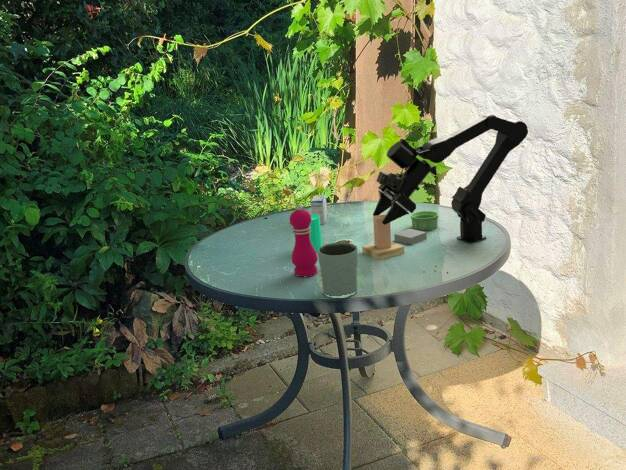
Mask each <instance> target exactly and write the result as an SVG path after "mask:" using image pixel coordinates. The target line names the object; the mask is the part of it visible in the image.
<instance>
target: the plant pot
mask: <svg viewBox="0 0 626 470" xmlns="http://www.w3.org/2000/svg"><path fill="white" fill-rule="evenodd" d="M317 258H318V263H319V268H320V276H321V282H322V291H323V295H324V294H326V295H329V296H342V295H347V294H351V293H354V292H356V291H357V292H358V289H357V288H358V279H357V275H358V271H357V270H358V269H357V268H358V246H357V245H355V244H353V243H351V242H350V243H349V242H330V243H327V244H324V245H323V244H322V246H321V247H320V248H318V252H317ZM357 292H356V293H357Z"/></svg>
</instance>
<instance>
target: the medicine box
mask: <svg viewBox="0 0 626 470" xmlns="http://www.w3.org/2000/svg"><path fill="white" fill-rule="evenodd" d="M310 209H311V211H310V212H311V215H313V214H316V215H319V216H320V225H325V224H326V221H327V219H328V207H327V196H326V195H324V194H322V195H321V194H319V195H313V197H312V199H311V200H310Z"/></svg>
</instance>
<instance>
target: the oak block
mask: <svg viewBox="0 0 626 470" xmlns="http://www.w3.org/2000/svg"><path fill="white" fill-rule="evenodd" d="M361 248H362V249H361V251H362V253H363V254H366V255H368V256H370V257H372V258H374V259H375V260H376V259H377V260H383V259H387V258H390V257H394V256H399V255H402V254H405V253H406V251H405V246H404V245H401V244H399V243H397V242H393V241H392V240H391V247H390V248H381V249H378V248H377V247H376V246H375V242H373V243H369V244H365V245H362V246H361Z"/></svg>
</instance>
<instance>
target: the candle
mask: <svg viewBox="0 0 626 470" xmlns="http://www.w3.org/2000/svg"><path fill="white" fill-rule="evenodd" d="M308 212H309V211H308ZM310 212H311V211H310ZM310 212H309V213H310ZM310 215H311V218H312V221H311V223H310V225H309V226H310V227H311V228H310V230H311V232H310V241H311V244H312V246H313V248H314V249H315V251H316V253H318V248H320V247H321V246H323V238H322V227H321V225H322V224H321V225H320V216H319V215H316V214H313V215H312V214H311V213H310Z"/></svg>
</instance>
